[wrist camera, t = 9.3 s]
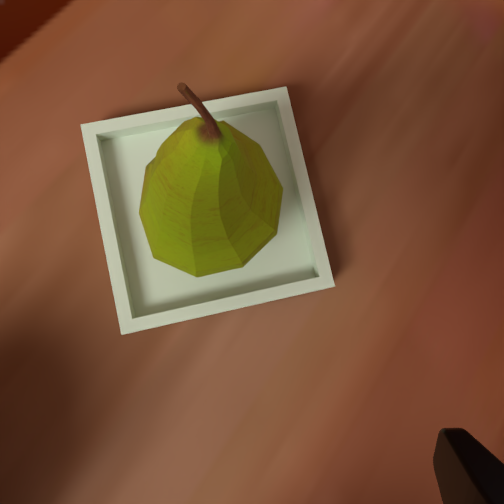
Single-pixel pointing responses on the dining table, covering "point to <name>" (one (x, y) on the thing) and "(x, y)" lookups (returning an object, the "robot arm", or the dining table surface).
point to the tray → (172, 279)
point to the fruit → (209, 196)
